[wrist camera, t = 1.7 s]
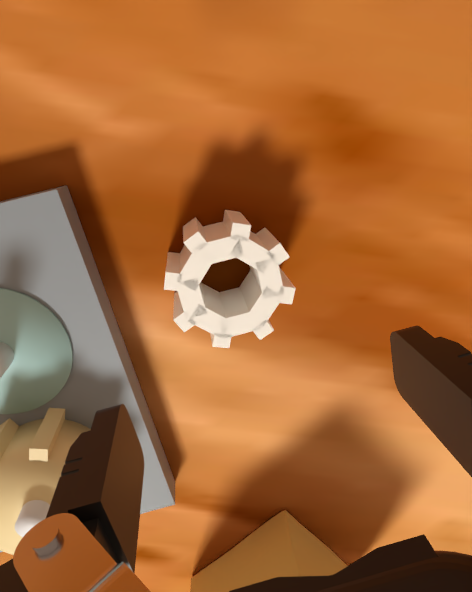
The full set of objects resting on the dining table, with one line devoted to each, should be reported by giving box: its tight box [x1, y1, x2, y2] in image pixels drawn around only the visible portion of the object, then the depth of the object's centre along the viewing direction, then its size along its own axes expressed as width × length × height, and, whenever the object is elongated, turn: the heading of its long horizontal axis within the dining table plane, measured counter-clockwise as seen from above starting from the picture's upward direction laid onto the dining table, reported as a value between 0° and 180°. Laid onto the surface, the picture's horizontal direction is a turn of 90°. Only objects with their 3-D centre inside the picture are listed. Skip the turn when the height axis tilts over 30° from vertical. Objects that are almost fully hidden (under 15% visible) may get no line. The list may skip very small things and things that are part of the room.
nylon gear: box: [164, 210, 295, 348], centre depth 23 cm, size 6×6×4 cm
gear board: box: [0, 185, 175, 555], centre depth 23 cm, size 12×21×7 cm, turn 13°
